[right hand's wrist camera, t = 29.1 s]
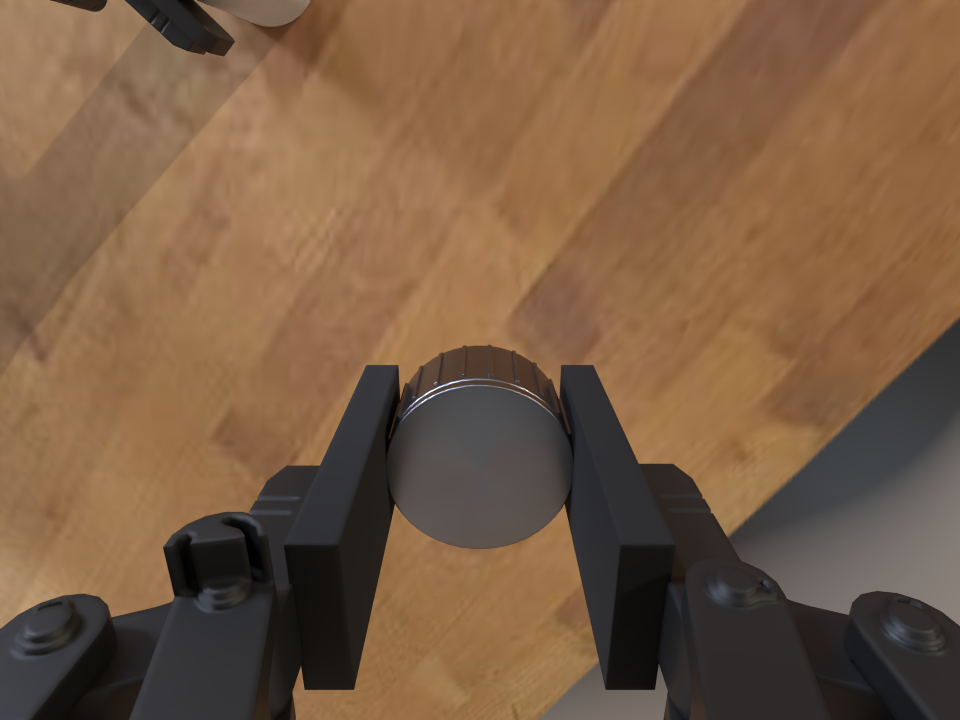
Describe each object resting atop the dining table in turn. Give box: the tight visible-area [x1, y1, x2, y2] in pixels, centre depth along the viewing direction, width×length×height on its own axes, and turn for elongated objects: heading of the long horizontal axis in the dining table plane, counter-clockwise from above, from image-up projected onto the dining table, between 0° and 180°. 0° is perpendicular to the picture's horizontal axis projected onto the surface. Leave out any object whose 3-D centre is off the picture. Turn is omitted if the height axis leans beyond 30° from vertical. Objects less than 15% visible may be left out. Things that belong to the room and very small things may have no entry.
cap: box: [386, 345, 574, 549], centre depth 14 cm, size 4×4×2 cm
